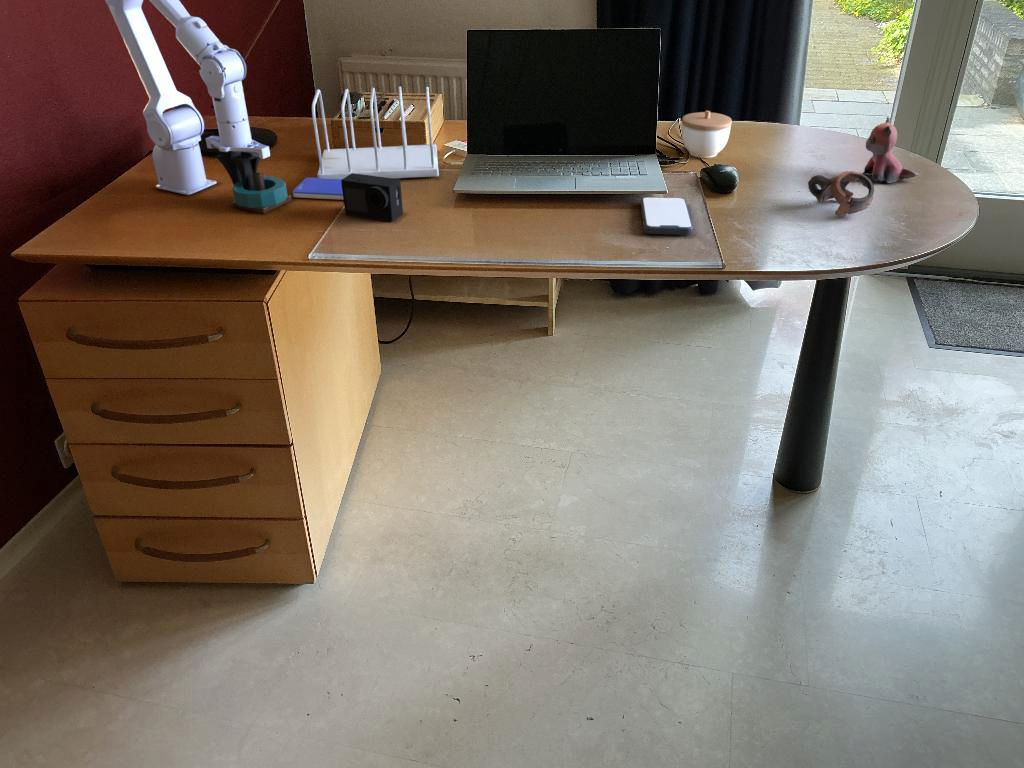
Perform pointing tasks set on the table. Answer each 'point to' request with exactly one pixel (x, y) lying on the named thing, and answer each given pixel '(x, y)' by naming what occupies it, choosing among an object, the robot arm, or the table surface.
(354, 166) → the file sorter
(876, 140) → the stuffed fox
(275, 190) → the ring
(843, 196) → the brown curved piece
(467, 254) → the table surface
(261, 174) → the stand
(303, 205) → the table surface
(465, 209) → the table surface
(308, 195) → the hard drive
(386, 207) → the digital camera
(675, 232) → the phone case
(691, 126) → the trinket box
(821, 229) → the table surface
